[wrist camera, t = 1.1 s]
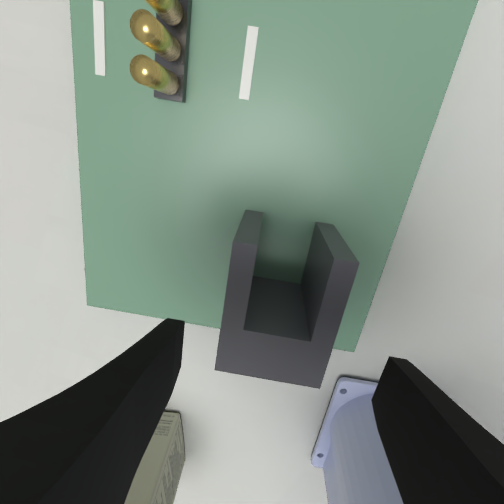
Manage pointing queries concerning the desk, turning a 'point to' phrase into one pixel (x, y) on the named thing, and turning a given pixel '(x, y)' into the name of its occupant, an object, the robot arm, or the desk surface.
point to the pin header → (163, 48)
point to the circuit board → (254, 143)
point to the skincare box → (160, 464)
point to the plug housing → (284, 309)
